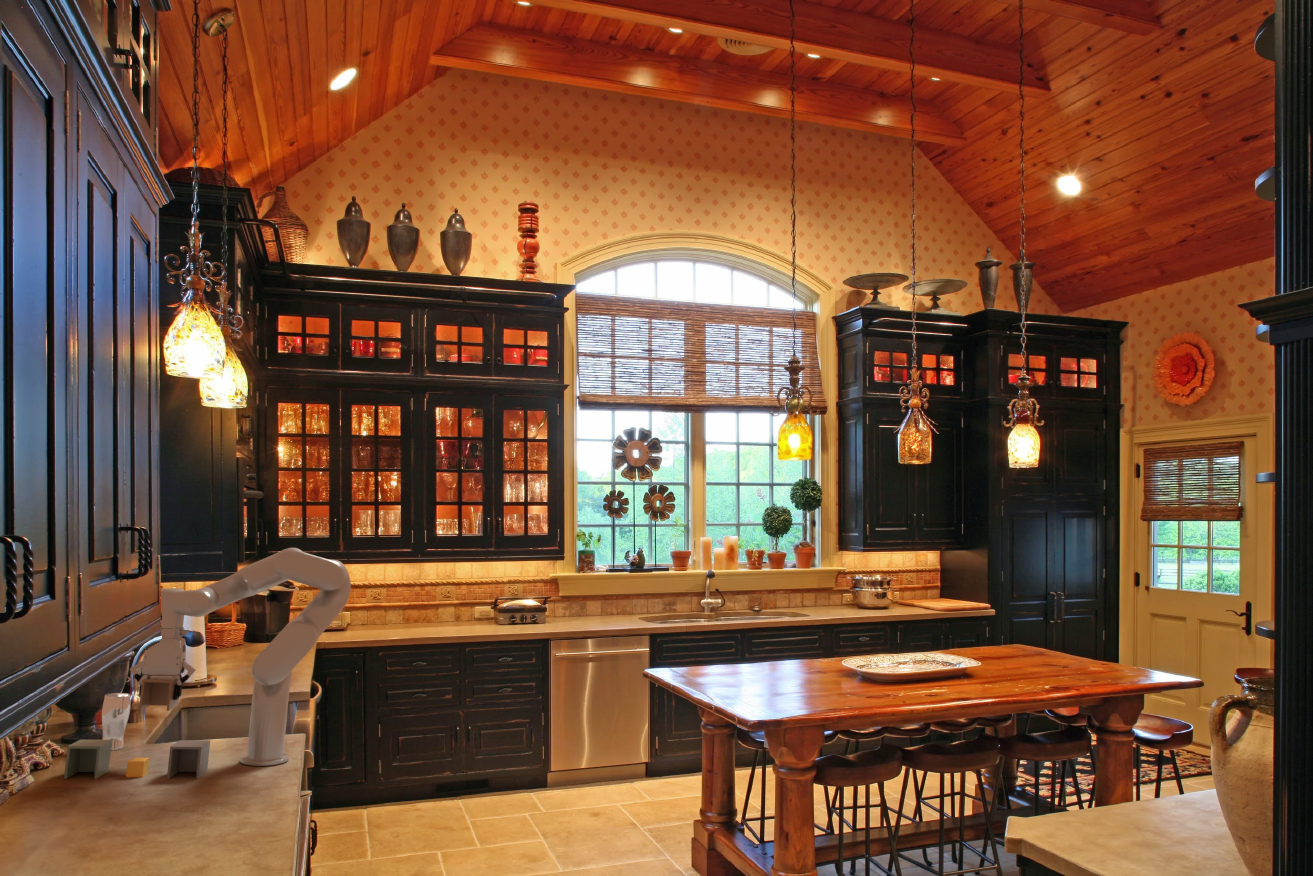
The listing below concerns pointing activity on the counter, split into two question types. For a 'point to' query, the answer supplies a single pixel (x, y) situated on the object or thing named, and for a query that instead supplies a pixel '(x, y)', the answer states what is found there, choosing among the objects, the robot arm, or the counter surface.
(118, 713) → the beer glass
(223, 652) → the counter surface
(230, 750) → the counter surface
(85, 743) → the green open box
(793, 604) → the counter surface
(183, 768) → the grey open box
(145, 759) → the orange block
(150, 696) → the tan cardboard-coloured box
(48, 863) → the counter surface
